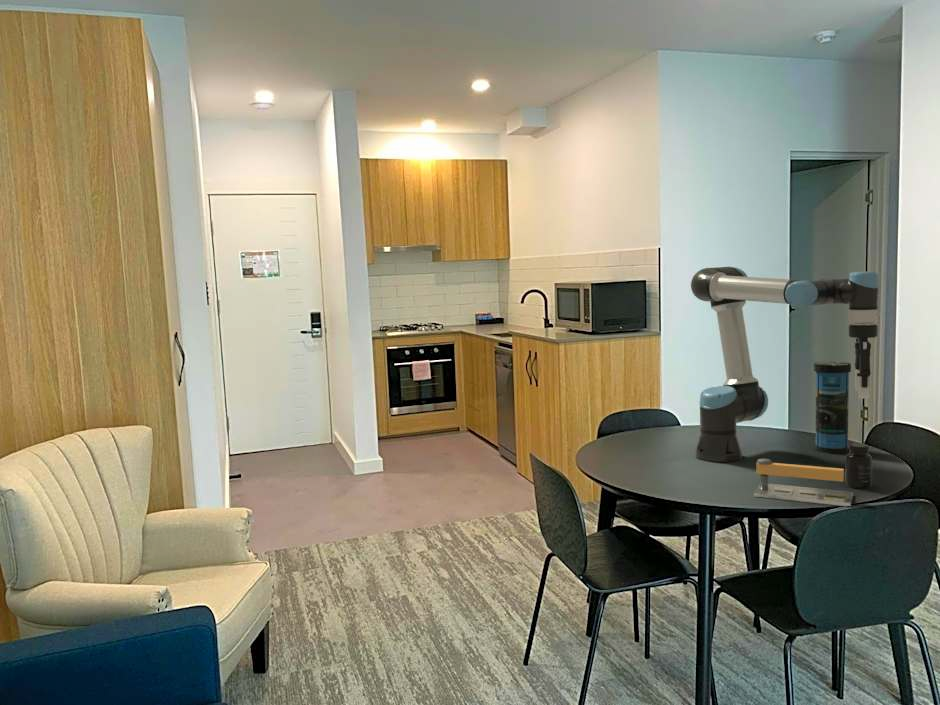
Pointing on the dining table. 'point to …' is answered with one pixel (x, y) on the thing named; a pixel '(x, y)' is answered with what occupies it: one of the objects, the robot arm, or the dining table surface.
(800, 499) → the tray
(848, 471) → the supplement bottle
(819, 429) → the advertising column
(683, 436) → the dining table surface
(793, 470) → the swing arm
